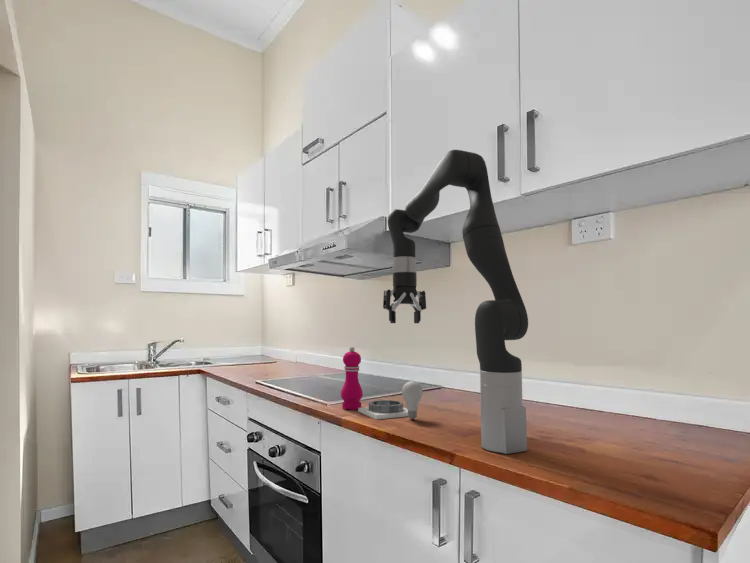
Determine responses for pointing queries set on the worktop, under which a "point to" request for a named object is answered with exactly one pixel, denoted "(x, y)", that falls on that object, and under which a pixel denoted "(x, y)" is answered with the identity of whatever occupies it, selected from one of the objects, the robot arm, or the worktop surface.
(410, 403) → the lightbulb
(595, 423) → the worktop surface
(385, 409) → the socket collar
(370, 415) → the socket board
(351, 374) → the pepper mill
